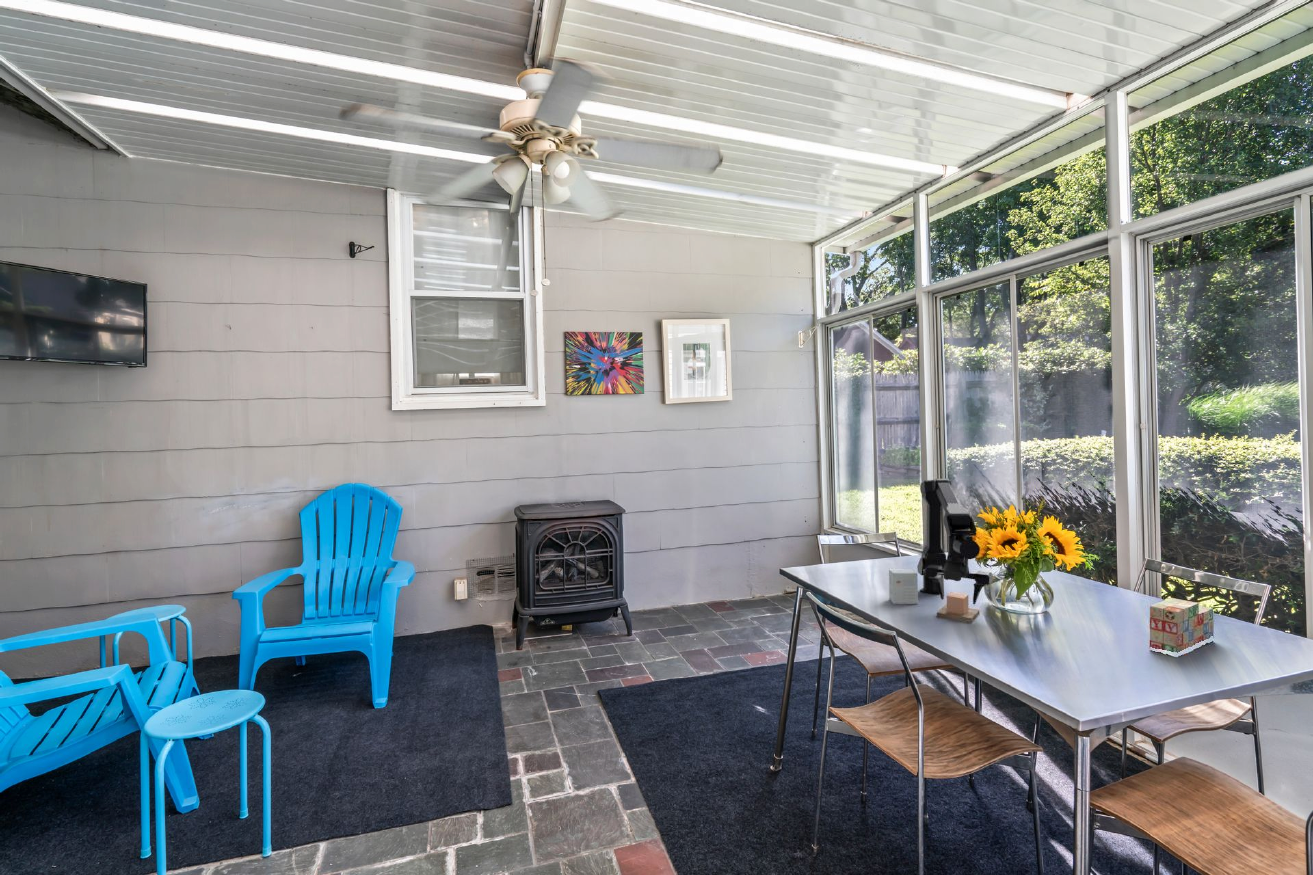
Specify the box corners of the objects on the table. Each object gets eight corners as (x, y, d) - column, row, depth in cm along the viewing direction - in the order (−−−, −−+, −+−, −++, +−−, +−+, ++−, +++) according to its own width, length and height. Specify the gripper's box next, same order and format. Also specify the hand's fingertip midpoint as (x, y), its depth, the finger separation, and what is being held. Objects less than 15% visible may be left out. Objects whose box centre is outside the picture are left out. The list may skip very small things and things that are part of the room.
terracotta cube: (951, 607, 206) (951, 591, 205) (968, 610, 202) (968, 594, 202) (946, 611, 202) (946, 595, 202) (963, 614, 199) (963, 598, 198)
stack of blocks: (1186, 635, 181) (1186, 591, 180) (1214, 642, 176) (1214, 597, 175) (1149, 651, 170) (1149, 604, 170) (1177, 658, 165) (1178, 610, 164)
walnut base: (945, 610, 209) (945, 604, 209) (979, 616, 203) (979, 609, 203) (936, 618, 201) (936, 612, 201) (971, 624, 195) (971, 618, 195)
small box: (913, 599, 220) (913, 568, 220) (918, 604, 214) (918, 572, 214) (888, 599, 221) (888, 568, 220) (893, 604, 215) (892, 572, 215)
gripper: (918, 553, 201) (919, 602, 202) (984, 560, 189) (984, 613, 190) (929, 546, 210) (929, 594, 210) (993, 553, 198) (993, 604, 198)
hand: (958, 601), depth 202 cm, fingers open, 9 cm apart
